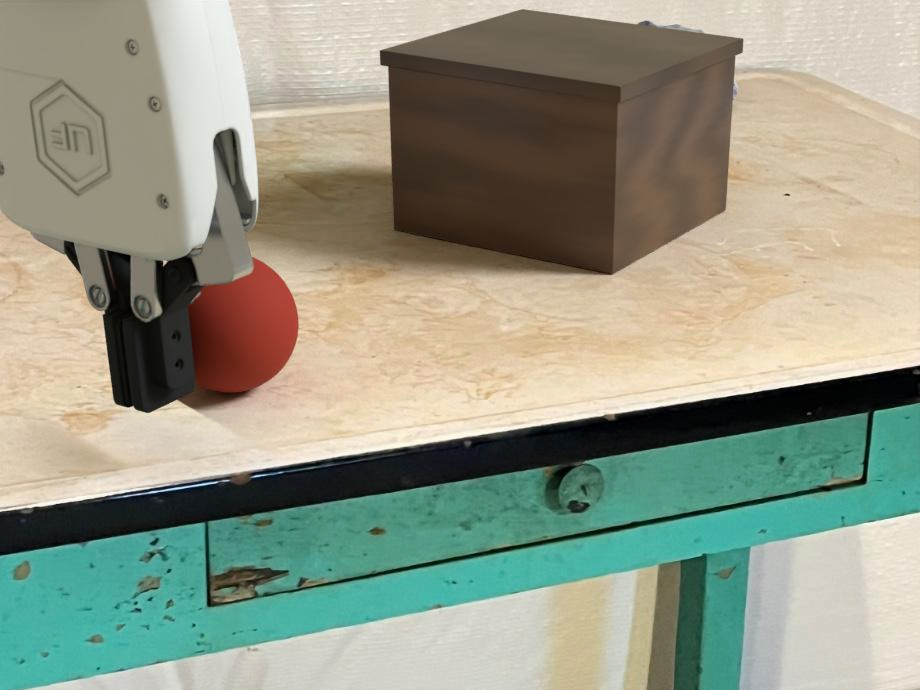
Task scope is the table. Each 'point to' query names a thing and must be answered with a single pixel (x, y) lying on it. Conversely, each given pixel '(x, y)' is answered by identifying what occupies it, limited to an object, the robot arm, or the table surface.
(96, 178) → the robot arm
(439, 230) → the box
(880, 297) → the table surface
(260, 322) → the ball
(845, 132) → the table surface
